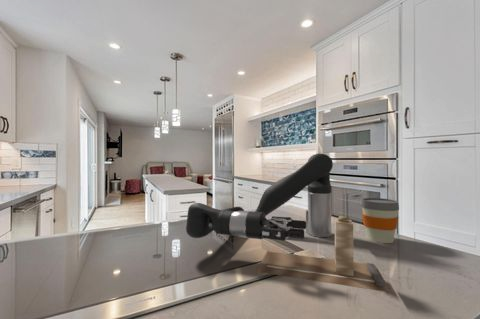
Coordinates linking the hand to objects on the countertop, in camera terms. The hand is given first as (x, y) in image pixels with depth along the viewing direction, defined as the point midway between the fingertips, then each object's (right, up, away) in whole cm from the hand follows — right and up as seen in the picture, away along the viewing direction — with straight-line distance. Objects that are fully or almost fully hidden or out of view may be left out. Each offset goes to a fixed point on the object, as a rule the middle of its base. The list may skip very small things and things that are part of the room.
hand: (305, 229), depth 62 cm
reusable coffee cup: (+36, -12, +27) cm, 47 cm away
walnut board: (+3, -12, -1) cm, 12 cm away
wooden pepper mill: (+9, -10, -3) cm, 14 cm away
